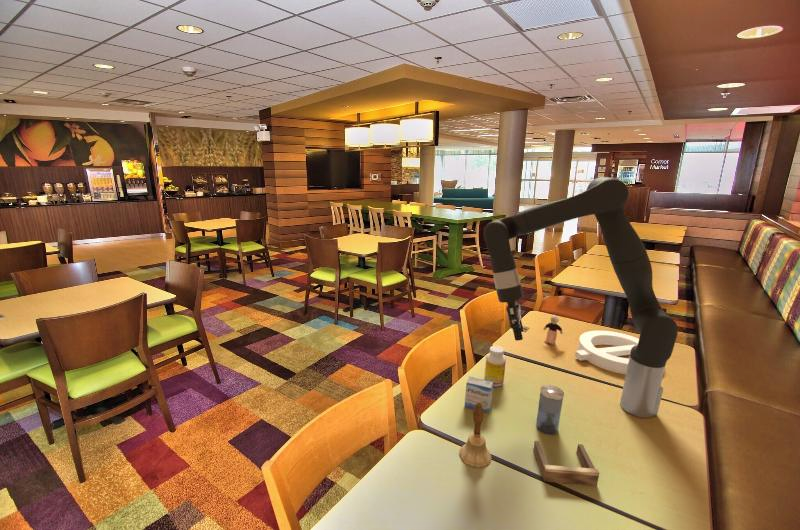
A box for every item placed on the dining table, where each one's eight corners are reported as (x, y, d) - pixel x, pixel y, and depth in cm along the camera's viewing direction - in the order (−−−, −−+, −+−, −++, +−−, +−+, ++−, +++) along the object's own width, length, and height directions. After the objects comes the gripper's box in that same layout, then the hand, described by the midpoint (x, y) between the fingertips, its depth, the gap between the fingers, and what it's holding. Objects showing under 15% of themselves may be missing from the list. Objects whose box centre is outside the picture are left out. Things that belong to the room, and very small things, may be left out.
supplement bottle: (504, 388, 128) (507, 354, 124) (484, 386, 129) (487, 352, 125) (502, 377, 134) (506, 345, 130) (483, 375, 135) (486, 343, 132)
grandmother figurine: (541, 343, 160) (545, 316, 156) (541, 339, 163) (545, 312, 159) (561, 347, 157) (565, 319, 153) (561, 343, 160) (565, 315, 157)
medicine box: (464, 406, 118) (465, 382, 116) (467, 398, 122) (468, 375, 120) (489, 413, 115) (491, 388, 113) (491, 404, 119) (494, 381, 117)
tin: (554, 421, 112) (559, 385, 109) (561, 435, 106) (567, 398, 103) (533, 419, 113) (538, 384, 109) (538, 434, 107) (543, 397, 103)
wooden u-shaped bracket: (580, 453, 100) (583, 441, 99) (596, 485, 90) (599, 472, 89) (533, 450, 101) (534, 438, 100) (544, 481, 91) (545, 468, 90)
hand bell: (485, 473, 93) (490, 418, 89) (454, 459, 97) (457, 406, 93) (495, 451, 100) (501, 400, 96) (466, 439, 104) (470, 389, 100)
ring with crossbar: (656, 352, 155) (659, 341, 153) (658, 385, 132) (661, 373, 131) (582, 334, 169) (584, 325, 168) (572, 361, 146) (574, 350, 145)
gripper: (519, 286, 107) (532, 341, 107) (521, 278, 120) (532, 327, 121) (493, 291, 109) (505, 344, 110) (497, 283, 123) (508, 331, 123)
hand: (519, 335), depth 115 cm, fingers open, 8 cm apart
